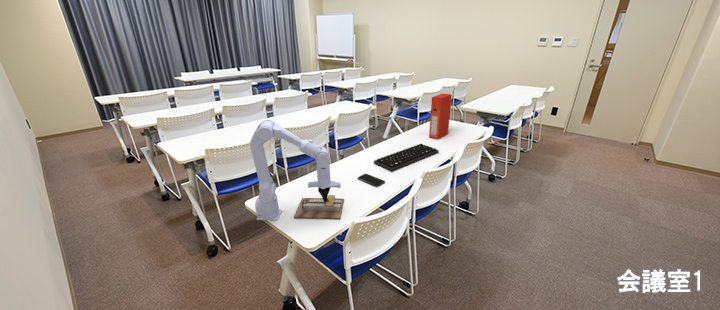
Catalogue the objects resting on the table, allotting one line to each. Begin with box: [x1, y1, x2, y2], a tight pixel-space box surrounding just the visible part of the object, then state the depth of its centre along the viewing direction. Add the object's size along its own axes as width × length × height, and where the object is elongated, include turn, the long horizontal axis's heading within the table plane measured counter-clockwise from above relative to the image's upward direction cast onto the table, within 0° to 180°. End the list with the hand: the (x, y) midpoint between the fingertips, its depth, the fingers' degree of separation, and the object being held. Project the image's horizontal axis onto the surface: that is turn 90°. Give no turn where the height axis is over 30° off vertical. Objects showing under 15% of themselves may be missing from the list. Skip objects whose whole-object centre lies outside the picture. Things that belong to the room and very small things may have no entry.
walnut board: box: [293, 197, 345, 221], centre depth 136 cm, size 21×16×1 cm
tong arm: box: [309, 199, 342, 206], centre depth 136 cm, size 15×2×3 cm, turn 87°
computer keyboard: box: [373, 143, 440, 173], centre depth 189 cm, size 45×16×4 cm, turn 129°
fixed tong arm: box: [301, 199, 341, 212], centre depth 134 cm, size 18×4×4 cm, turn 87°
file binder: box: [428, 93, 453, 140], centre depth 223 cm, size 8×17×32 cm, turn 139°
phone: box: [357, 173, 386, 188], centre depth 162 cm, size 8×1×15 cm
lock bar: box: [326, 194, 336, 206], centre depth 133 cm, size 3×6×2 cm, turn 177°
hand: (325, 200), depth 133 cm, fingers closed
